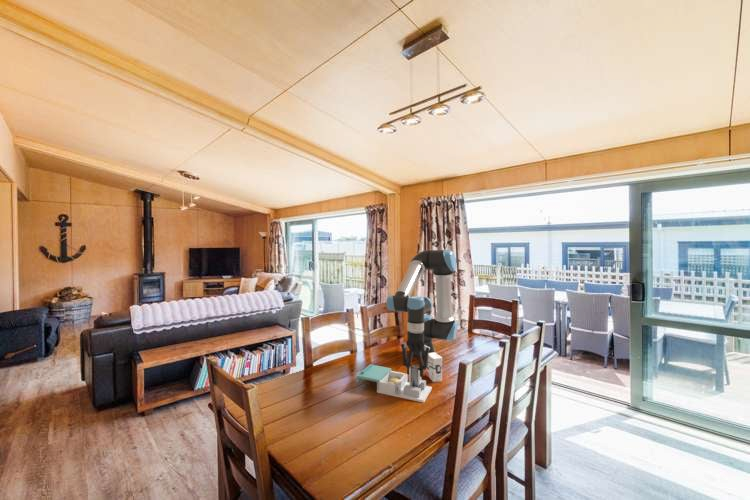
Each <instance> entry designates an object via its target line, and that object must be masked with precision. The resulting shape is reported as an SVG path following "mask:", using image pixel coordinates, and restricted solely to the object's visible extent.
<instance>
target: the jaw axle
mask: <svg viewBox="0 0 750 500" xmlns="http://www.w3.org/2000/svg"><path fill="white" fill-rule="evenodd" d="M419 369H420V368H419V365H411V386H412V387H417V388H420V385H419V384H418V370H419Z"/></svg>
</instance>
